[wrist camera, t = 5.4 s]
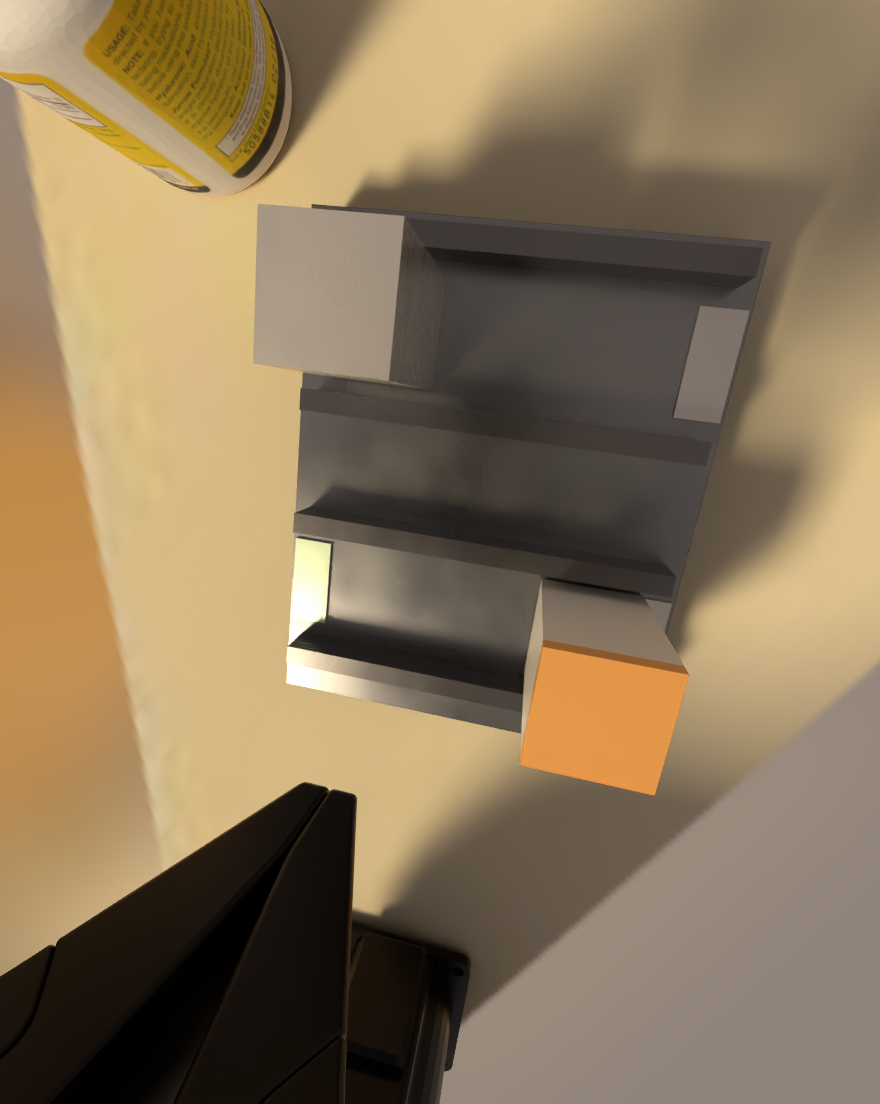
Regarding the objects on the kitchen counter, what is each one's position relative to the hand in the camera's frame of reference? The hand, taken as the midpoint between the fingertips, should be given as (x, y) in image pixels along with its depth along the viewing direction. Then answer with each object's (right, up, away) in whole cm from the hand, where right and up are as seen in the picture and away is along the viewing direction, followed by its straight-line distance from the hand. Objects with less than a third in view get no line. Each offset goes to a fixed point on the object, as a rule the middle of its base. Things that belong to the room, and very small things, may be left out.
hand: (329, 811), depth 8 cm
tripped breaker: (+6, +1, +8) cm, 10 cm away
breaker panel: (+3, +6, +9) cm, 11 cm away
